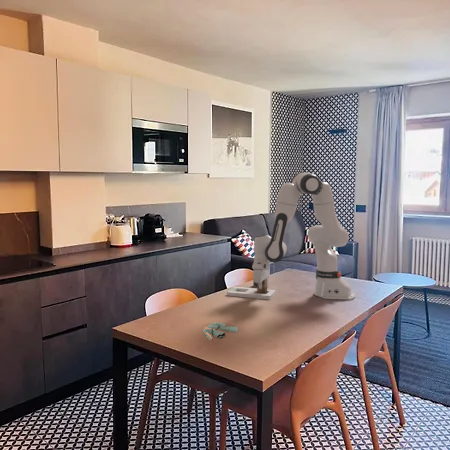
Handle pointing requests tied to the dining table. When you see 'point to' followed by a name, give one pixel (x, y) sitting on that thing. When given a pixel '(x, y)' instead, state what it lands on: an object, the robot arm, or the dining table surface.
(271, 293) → the parts plate
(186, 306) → the dining table surface
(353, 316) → the dining table surface
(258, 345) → the dining table surface
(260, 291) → the walnut block
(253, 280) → the medicine bottle
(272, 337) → the dining table surface
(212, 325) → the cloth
